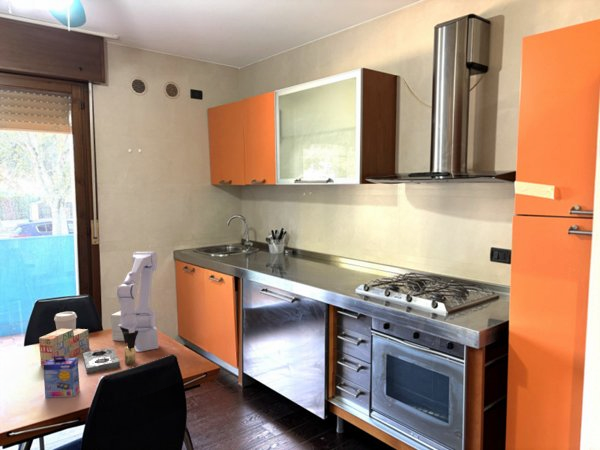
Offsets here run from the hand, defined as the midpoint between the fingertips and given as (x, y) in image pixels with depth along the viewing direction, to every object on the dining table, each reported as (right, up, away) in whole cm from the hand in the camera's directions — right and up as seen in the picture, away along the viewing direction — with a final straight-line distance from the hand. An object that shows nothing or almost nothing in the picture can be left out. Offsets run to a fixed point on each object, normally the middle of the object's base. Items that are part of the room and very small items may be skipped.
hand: (129, 345), depth 182 cm
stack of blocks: (-31, -8, +9) cm, 33 cm away
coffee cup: (-38, -7, +23) cm, 45 cm away
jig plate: (-13, -8, +1) cm, 15 cm away
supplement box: (-15, -6, +32) cm, 36 cm away
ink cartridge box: (-13, -10, -27) cm, 32 cm away
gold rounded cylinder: (0, -8, +1) cm, 8 cm away
